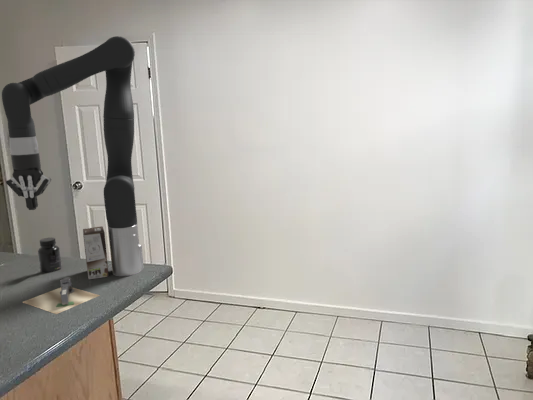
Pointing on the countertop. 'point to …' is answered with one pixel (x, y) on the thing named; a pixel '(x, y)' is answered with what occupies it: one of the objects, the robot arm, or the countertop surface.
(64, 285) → the tuning lever
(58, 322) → the countertop surface
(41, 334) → the countertop surface
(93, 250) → the coffee box
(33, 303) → the board
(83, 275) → the countertop surface
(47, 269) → the supplement bottle
